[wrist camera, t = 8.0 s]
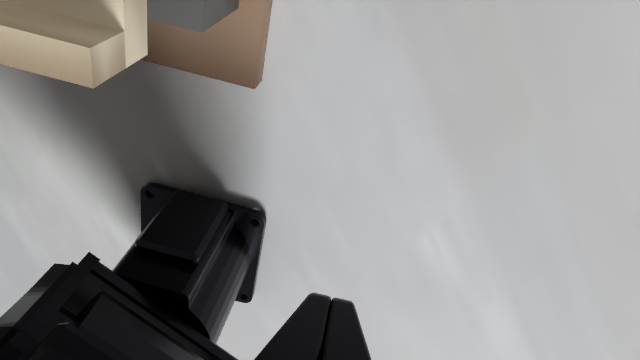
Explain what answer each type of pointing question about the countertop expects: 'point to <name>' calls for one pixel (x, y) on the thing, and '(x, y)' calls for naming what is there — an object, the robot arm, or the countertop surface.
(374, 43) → the countertop surface
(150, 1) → the stand
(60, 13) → the beam
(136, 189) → the countertop surface
